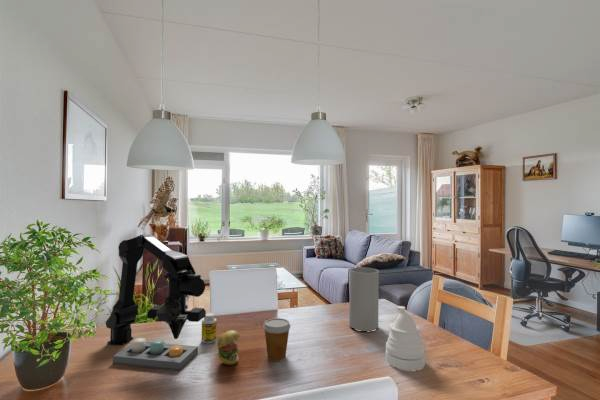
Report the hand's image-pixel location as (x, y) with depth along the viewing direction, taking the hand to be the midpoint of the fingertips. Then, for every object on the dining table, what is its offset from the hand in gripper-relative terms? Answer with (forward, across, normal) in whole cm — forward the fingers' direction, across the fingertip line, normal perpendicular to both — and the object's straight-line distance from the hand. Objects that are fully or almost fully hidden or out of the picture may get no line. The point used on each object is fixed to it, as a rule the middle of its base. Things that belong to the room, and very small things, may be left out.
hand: (176, 338), depth 109 cm
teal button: (+5, -7, 0) cm, 9 cm away
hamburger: (+8, +18, +2) cm, 20 cm away
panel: (+7, -7, 0) cm, 10 cm away
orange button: (+6, 0, 0) cm, 7 cm away
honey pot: (+8, +77, +14) cm, 79 cm away
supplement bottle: (+8, +4, +17) cm, 19 cm away
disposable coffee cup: (+8, +33, +9) cm, 35 cm away
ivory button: (+5, -14, 0) cm, 15 cm away
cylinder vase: (+8, +64, +43) cm, 77 cm away
